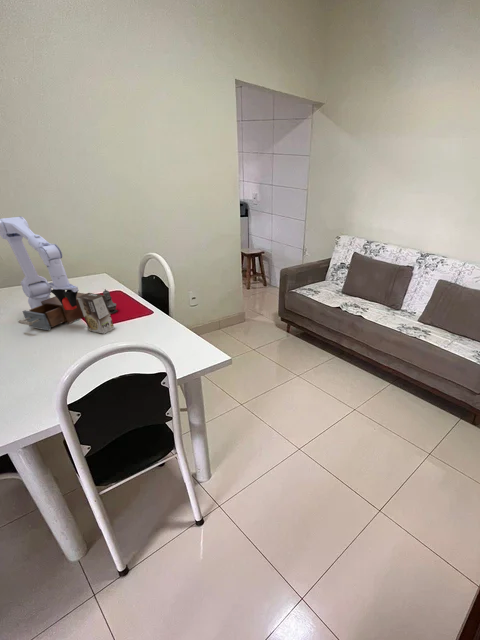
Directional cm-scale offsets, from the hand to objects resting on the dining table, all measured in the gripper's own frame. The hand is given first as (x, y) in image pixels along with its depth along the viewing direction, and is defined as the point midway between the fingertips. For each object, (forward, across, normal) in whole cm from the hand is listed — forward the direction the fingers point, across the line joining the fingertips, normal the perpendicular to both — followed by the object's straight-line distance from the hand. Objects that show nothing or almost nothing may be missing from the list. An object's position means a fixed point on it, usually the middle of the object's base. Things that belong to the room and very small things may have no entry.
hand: (69, 305), depth 145 cm
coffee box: (+11, +13, +1) cm, 17 cm away
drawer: (+10, -12, -4) cm, 16 cm away
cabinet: (+10, -12, +8) cm, 18 cm away
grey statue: (+11, +2, +19) cm, 22 cm away
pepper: (+1, 0, 0) cm, 1 cm away
